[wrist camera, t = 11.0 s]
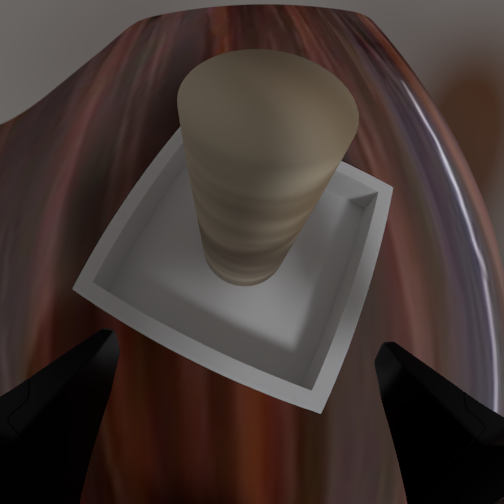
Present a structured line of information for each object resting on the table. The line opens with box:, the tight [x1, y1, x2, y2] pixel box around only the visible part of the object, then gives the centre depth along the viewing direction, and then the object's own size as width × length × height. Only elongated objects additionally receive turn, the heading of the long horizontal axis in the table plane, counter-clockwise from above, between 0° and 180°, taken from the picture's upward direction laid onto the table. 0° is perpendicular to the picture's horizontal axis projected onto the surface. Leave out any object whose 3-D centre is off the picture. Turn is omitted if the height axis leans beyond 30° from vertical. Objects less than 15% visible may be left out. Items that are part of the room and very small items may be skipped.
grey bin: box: [72, 126, 393, 414], centre depth 18 cm, size 15×15×3 cm
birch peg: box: [177, 49, 359, 286], centre depth 13 cm, size 5×5×12 cm
